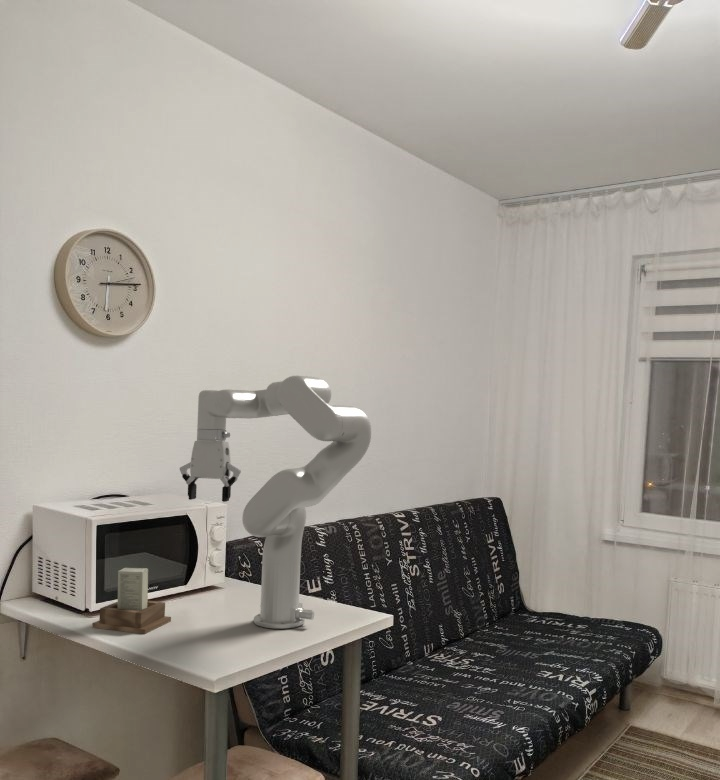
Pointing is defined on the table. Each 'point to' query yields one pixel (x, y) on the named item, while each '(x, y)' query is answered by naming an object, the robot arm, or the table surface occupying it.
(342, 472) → the robot arm
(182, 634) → the table surface
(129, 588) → the skincare box
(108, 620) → the socket block
